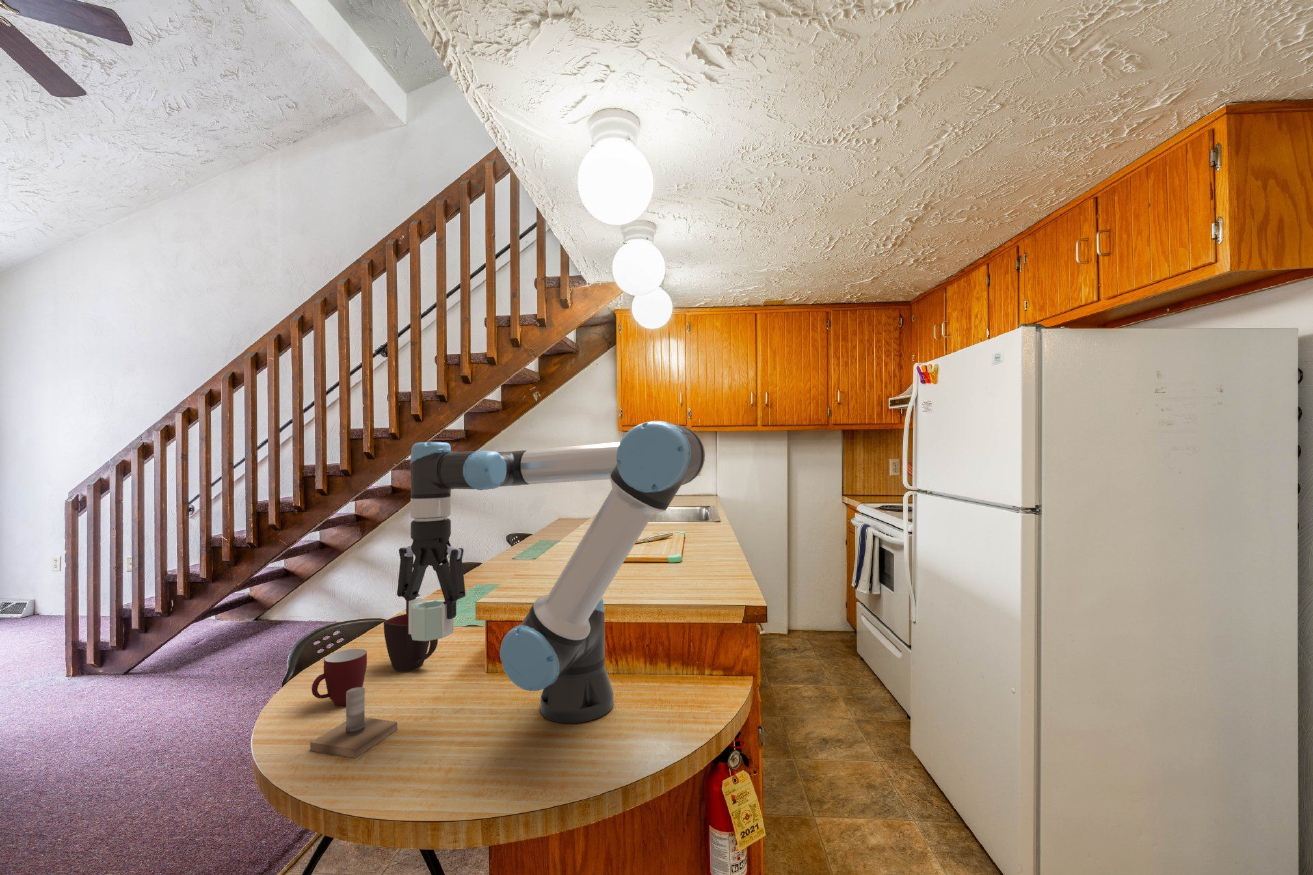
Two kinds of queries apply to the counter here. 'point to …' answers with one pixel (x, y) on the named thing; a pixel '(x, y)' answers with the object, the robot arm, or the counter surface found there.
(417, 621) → the ring
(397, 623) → the mug
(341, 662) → the mug
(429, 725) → the counter surface
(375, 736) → the post stand
